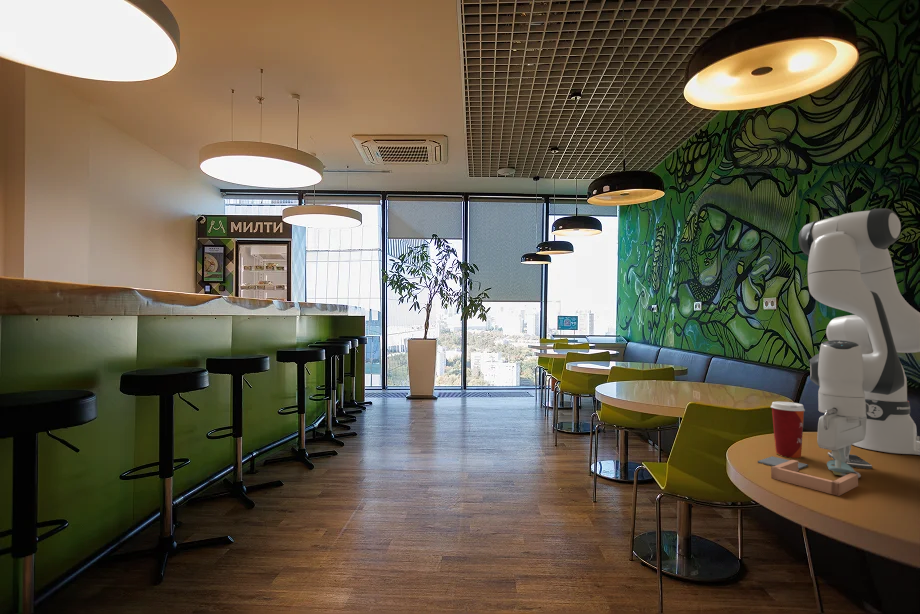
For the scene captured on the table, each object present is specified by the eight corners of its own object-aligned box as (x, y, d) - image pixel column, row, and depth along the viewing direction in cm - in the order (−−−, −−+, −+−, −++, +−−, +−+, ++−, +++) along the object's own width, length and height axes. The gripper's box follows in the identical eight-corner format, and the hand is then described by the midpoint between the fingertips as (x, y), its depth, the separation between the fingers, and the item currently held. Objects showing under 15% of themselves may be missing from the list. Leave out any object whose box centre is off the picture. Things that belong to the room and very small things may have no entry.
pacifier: (858, 473, 107) (825, 468, 110) (858, 447, 107) (826, 442, 111) (863, 482, 101) (829, 476, 104) (863, 454, 101) (829, 449, 105)
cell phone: (842, 468, 112) (842, 462, 112) (826, 456, 122) (826, 451, 123) (873, 471, 110) (873, 465, 110) (854, 459, 120) (854, 454, 120)
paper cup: (812, 460, 117) (811, 406, 118) (779, 458, 119) (778, 405, 119) (796, 451, 125) (795, 401, 125) (765, 450, 126) (765, 400, 127)
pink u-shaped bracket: (792, 469, 109) (792, 459, 109) (858, 485, 98) (857, 474, 98) (771, 478, 103) (771, 467, 103) (838, 496, 92) (838, 483, 92)
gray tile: (772, 457, 119) (772, 456, 119) (808, 466, 112) (808, 464, 112) (757, 462, 114) (757, 461, 114) (794, 471, 108) (794, 469, 108)
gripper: (841, 413, 102) (842, 474, 101) (871, 404, 113) (872, 459, 112) (808, 408, 107) (809, 466, 107) (840, 401, 118) (841, 453, 118)
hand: (842, 462), depth 110 cm, fingers closed
